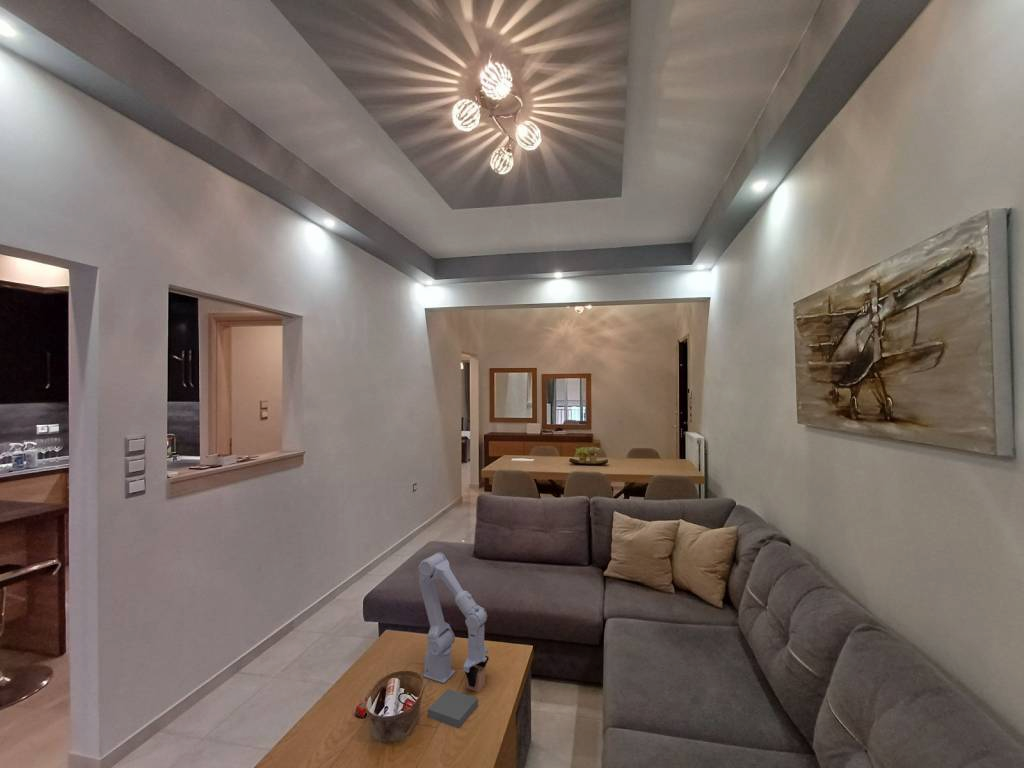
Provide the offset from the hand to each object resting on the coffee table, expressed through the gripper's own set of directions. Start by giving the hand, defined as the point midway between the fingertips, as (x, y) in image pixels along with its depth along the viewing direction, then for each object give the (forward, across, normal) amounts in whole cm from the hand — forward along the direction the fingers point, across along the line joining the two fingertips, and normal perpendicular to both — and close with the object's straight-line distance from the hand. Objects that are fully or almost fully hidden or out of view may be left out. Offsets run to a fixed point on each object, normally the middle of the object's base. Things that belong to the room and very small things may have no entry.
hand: (475, 681), depth 173 cm
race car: (+2, -25, +25) cm, 35 cm away
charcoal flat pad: (+2, -15, 0) cm, 15 cm away
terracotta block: (+2, 0, 0) cm, 2 cm away
